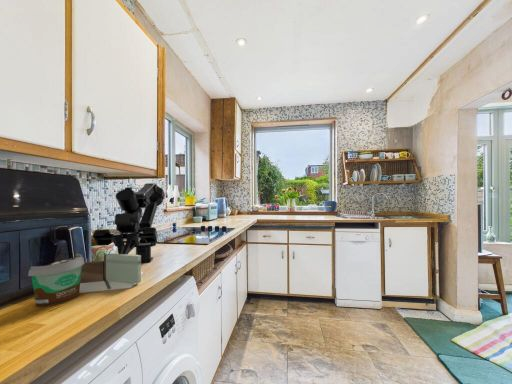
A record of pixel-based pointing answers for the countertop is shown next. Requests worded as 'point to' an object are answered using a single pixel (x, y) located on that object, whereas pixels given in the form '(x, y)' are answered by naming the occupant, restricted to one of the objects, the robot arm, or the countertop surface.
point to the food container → (57, 281)
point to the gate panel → (123, 268)
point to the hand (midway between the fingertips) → (121, 258)
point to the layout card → (104, 286)
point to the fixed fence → (93, 271)
